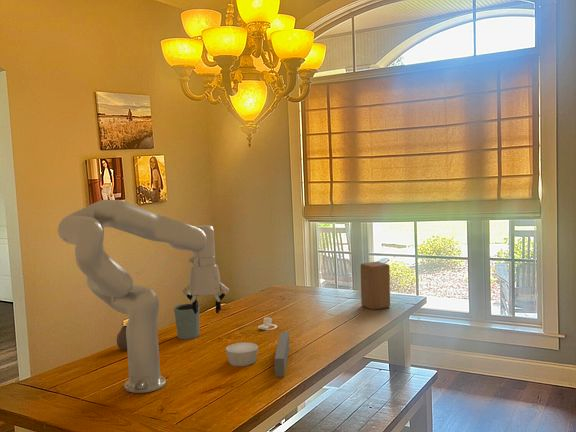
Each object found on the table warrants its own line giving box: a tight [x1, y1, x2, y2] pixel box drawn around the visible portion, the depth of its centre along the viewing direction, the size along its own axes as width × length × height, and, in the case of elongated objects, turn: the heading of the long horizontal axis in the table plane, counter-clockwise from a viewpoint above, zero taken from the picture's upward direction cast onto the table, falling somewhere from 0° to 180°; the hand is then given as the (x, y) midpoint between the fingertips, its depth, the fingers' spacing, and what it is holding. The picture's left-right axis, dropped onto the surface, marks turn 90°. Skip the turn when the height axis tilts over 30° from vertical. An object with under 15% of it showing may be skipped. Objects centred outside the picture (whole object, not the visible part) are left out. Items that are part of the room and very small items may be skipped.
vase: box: [116, 325, 127, 351], centre depth 217 cm, size 7×7×9 cm
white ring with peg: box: [257, 316, 278, 331], centre depth 239 cm, size 9×8×4 cm
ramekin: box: [225, 341, 259, 367], centre depth 199 cm, size 11×11×5 cm
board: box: [274, 331, 290, 378], centre depth 198 cm, size 28×3×6 cm, turn 176°
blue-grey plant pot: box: [173, 303, 201, 340], centre depth 230 cm, size 10×10×12 cm
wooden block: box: [360, 261, 391, 311], centre depth 264 cm, size 10×10×20 cm
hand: (207, 312), depth 199 cm, fingers open, 6 cm apart
